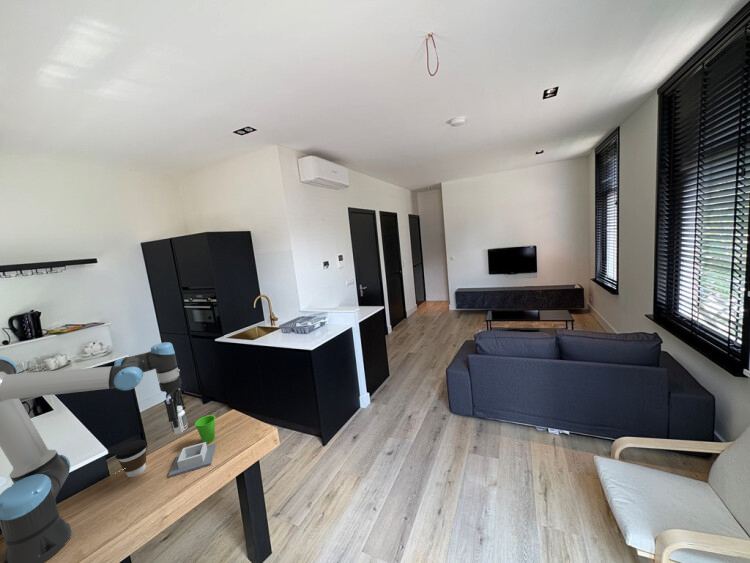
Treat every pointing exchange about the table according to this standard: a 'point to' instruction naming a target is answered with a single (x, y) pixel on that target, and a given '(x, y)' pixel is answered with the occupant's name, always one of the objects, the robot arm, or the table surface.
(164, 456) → the table surface
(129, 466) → the coffee cup
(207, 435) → the cup
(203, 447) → the socket
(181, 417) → the pill bottle
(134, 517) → the table surface
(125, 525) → the table surface
